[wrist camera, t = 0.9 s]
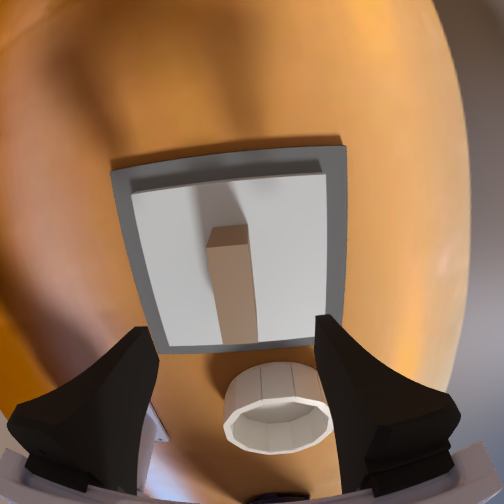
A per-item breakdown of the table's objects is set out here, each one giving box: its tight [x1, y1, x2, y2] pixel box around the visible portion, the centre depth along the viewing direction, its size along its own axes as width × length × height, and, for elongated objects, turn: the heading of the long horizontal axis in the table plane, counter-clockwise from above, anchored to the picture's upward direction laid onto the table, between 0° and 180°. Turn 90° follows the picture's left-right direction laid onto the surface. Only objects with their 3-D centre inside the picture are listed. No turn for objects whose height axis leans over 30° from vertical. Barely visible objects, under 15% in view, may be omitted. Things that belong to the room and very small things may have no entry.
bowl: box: [223, 361, 334, 455], centre depth 23 cm, size 9×9×4 cm
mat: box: [110, 145, 348, 354], centre depth 19 cm, size 14×14×1 cm
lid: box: [131, 172, 327, 346], centre depth 17 cm, size 11×11×4 cm
